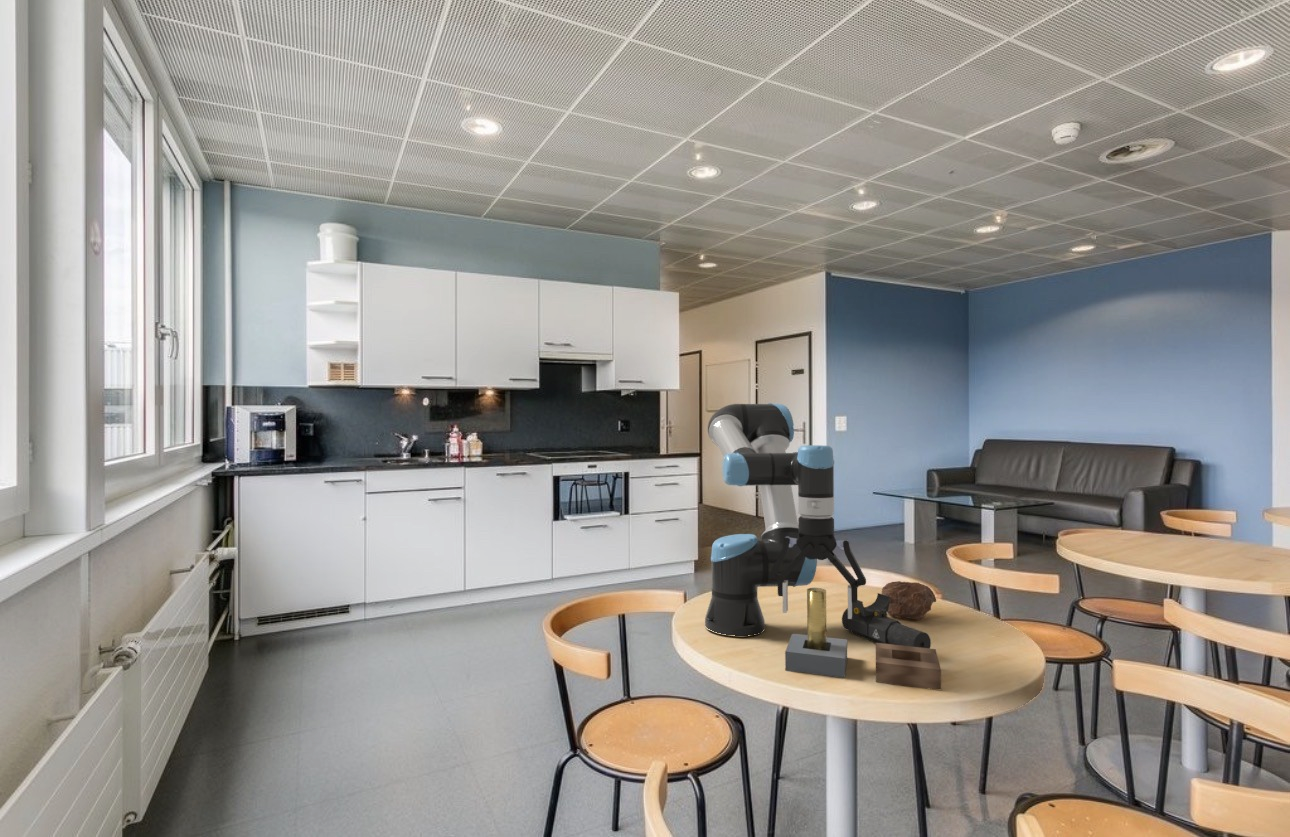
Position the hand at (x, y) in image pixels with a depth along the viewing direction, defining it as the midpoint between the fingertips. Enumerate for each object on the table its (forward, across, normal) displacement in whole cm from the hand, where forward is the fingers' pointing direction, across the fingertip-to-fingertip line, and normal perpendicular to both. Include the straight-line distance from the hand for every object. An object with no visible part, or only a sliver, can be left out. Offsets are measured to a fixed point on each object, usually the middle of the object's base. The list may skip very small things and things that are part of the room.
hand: (817, 614), depth 137 cm
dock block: (+11, +18, 0) cm, 21 cm away
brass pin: (+11, 0, 0) cm, 11 cm away
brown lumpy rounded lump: (+11, +20, +42) cm, 48 cm away
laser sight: (+11, +13, +20) cm, 26 cm away
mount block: (+11, 0, 0) cm, 11 cm away
